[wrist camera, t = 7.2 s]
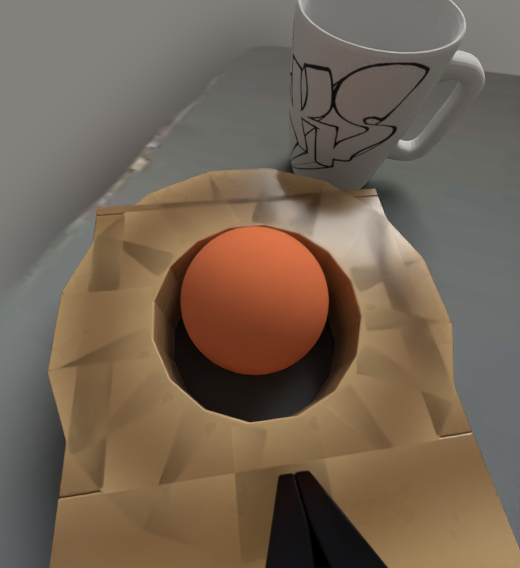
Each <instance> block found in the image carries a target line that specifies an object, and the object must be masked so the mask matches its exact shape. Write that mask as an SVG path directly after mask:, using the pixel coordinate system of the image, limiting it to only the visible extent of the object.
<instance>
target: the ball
mask: <svg viewBox="0 0 520 568" xmlns="http://www.w3.org/2000/svg"><path fill="white" fill-rule="evenodd" d="M180 301H181V313H182V318H183V322H184V325H185V328H186V330H187V332H188V334H189V337H190V338H191V340H192V341H193V343H194V344H195V346H196V347H197V348H198V349H199V351H200V352H201V353H202V354H203V355H205V356H206V357H207V358H208V359H209V360H211V361H212V362H213V363H215V364H216V365H218V366H220V367H222V368H224V369H226V370H229V371H232V372H235V373H240V374H246V375H263V374H269V373H274V372H277V371H280V370H283V369H285V368H287V367H289V366H291V365H293V364H294V363H296V362H297V361H299V360H300V359H301V358H302V357H304V356H305V355H306V354H307V353H308V352H309V351H310V350H311V348H312V347H313V346H314V345H315V343H316V342H317V340H318V339H319V337H320V335H321V333H322V331H323V329H324V325H325V322H326V319H327V314H328V306H329V296H328V288H327V283H326V279H325V276H324V273H323V271H322V269H321V267H320V265H319V263H318V262H317V260H316V259H315V257H314V256H313V255H312V253H311V252H310V251H309V250H308V249H307V248H306V247H305V246H304V245H303V244H302V243H301V242H299V241H298V240H296V239H295V238H293V237H292V236H290V235H288V234H286V233H284V232H281V231H278V230H276V229H271V228H267V227H258V226H257V227H243V228H238V229H234V230H231V231H228V232H226V233H223V234H221V235H219V236H218V237H216V238H214V239H213V240H211V241H210V242H209V243H208V244H206V245H205V246H204V247H203V248H202V249H201V250H200V251H199V252H198V254H197V255H196V256H195V258H194V259H193V260H192V262H191V264H190V266H189V268H188V269H187V272H186V274H185V277H184V280H183V284H182V288H181V297H180Z"/></svg>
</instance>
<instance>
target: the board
mask: <svg viewBox="0 0 520 568" xmlns="http://www.w3.org/2000/svg"><path fill="white" fill-rule="evenodd" d="M377 195H378V194H377V192H376V189H375V188H371V189H357V190H340V189H339V188H337V187H335V186H333V185H332V184H330V183H328V182H326V181H323V180H319V179H314V178H310V177H305V176H301V175H297V174H292V173H288V172H283V171H279V170H275V169H270V168H261V169H244V170H227V171H211V172H207V173H204V174H201V175H199V176H196V177H193V178H190V179H188V180H185V181H182V182H179V183H177V184H174V185H171V186H169V187H166V188H163V189H160V190H158V191H155V192H152V193H150V194H148V195H147V196H146V197H145V198H143V199H142V200H141V201H139V202H138V203H137V204H136V205H125V206H111V207H98V208H97V213H96V216H97V217H96V223H95V230H94V238H93V244H92V245H91V247H90V248H89V250H88V252H87V253H86V255H85V256H84V258H83V260H82V261H81V263H80V264H79V266H78V267H77V269H76V271H75V272H74V274H73V275H72V277H71V279H70V280H69V282H68V283H67V285H66V287H65V288H64V290H63V291H62V295H61V298H60V303H59V309H58V315H57V321H56V326H55V332H54V338H53V344H52V349H51V355H50V361H49V366H48V377H49V381H50V384H51V388H52V392H53V395H54V399H55V403H56V407H57V410H58V414H59V418H60V421H61V425H62V429H63V432H64V436H65V440H66V446H65V454H64V461H63V469H62V476H61V483H60V491H59V497H61V498H60V499H59V500H58V504H57V511H56V519H55V526H54V534H53V541H52V549H51V556H50V563H49V568H265V566H266V559H267V552H268V545H269V538H270V531H271V524H272V517H273V510H274V503H275V496H276V489H277V482H278V476H279V475H280V474H286V473H293V474H294V473H295V472H298V471H304V470H308V471H310V472H311V473H312V474H313V475H314V477H315V478H316V479H317V480H318V482H319V483H320V484H321V485H322V487H323V488H324V489H325V490H326V491H327V493H328V494H329V495H330V496H331V498H332V499H333V500H334V501H335V503H336V504H337V505H338V506H339V507H340V509H341V510H342V511H343V512H344V514H345V515H346V516H347V517H348V519H349V520H350V521H351V522H352V524H353V525H354V526H355V527H356V528H357V530H358V531H359V532H360V533H361V535H362V536H363V537H364V538H365V540H366V541H367V542H368V543H369V545H370V546H371V547H372V548H373V549H374V551H375V552H376V553H377V554H378V556H379V557H380V558H381V559H382V561H383V562H384V563H385V564H386V566H387V567H388V568H520V550H519V547H518V545H517V542H516V540H515V537H514V535H513V532H512V530H511V527H510V525H509V522H508V520H507V517H506V515H505V512H504V510H503V507H502V505H501V502H500V500H499V497H498V495H497V492H496V490H495V487H494V485H493V482H492V480H491V477H490V475H489V472H488V470H487V467H486V465H485V462H484V460H483V457H482V455H481V452H480V450H479V447H478V445H477V442H476V440H475V437H474V435H473V433H470V432H471V431H472V430H471V427H470V425H469V422H468V420H467V417H466V415H465V412H464V410H463V407H462V405H461V402H460V400H459V397H458V395H457V392H456V390H455V387H454V370H453V335H452V324H451V320H450V318H449V316H448V314H447V311H446V309H445V307H444V304H443V302H442V300H441V297H440V295H439V293H438V291H437V288H436V286H435V284H434V281H433V279H432V277H431V274H430V272H429V270H428V268H427V265H426V263H425V261H424V260H423V257H422V256H421V255H420V254H419V253H418V252H417V251H416V250H415V249H414V248H413V247H412V246H411V245H410V244H409V242H408V241H407V240H406V239H405V238H404V237H403V236H402V235H401V234H400V233H399V232H398V231H397V230H396V228H395V227H394V226H393V225H392V224H391V223H390V222H389V221H388V220H387V217H386V215H385V212H384V210H383V207H382V205H381V202H380V200H379V197H378V196H377ZM257 226H258V227H267V228H271V229H276V230H278V231H281V232H284V233H286V234H288V235H290V236H292V237H293V238H295V239H296V240H298V241H299V242H301V243H302V244H303V245H304V246H305V247H306V248H307V249H308V250H309V251H310V252H311V253H312V255H313V256H314V257H315V259H316V260H317V262H318V263H319V265H320V267H321V269H322V271H323V273H324V276H325V279H326V283H327V288H328V296H329V306H328V314H327V315H328V319H329V323H330V327H331V331H332V335H333V339H334V343H335V344H334V350H333V357H332V363H331V370H330V375H329V376H328V378H327V380H326V381H325V383H324V384H323V386H322V387H321V389H320V390H319V392H318V394H317V395H316V397H315V398H314V400H313V401H312V403H310V404H308V405H307V406H305V407H304V408H302V409H301V410H299V411H298V412H296V413H295V414H293V415H292V416H290V417H284V418H278V419H271V420H264V421H257V422H247V421H243V420H240V419H237V418H233V417H230V416H226V415H223V414H220V413H216V412H213V411H209V410H208V409H206V408H205V407H204V406H203V405H202V404H201V403H200V402H198V401H197V400H196V399H195V398H194V397H193V396H192V395H190V394H189V392H188V390H187V388H186V386H185V383H184V381H183V379H182V377H181V374H180V372H179V370H178V368H177V366H176V363H175V331H176V328H177V326H178V323H179V321H180V318H181V316H182V313H181V301H180V297H181V288H182V284H183V280H184V277H185V274H186V272H187V269H188V268H189V266H190V264H191V262H192V260H193V259H194V258H195V256H196V255H197V254H198V252H199V251H200V250H201V249H202V248H203V247H204V246H205V245H206V244H208V243H209V242H210V241H211V240H213V239H214V238H216V237H218V236H219V235H221V234H223V233H226V232H228V231H231V230H234V229H238V228H243V227H257Z"/></svg>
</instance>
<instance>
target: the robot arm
mask: <svg viewBox="0 0 520 568" xmlns="http://www.w3.org/2000/svg"><path fill="white" fill-rule="evenodd" d="M265 568H388V567H387V566H386V564H385V563H384V562H383V561H382V559H381V558H380V557H379V556H378V554H377V553H376V552H375V551H374V549H373V548H372V547H371V546H370V545H369V543H368V542H367V541H366V540H365V538H364V537H363V536H362V535H361V533H360V532H359V531H358V530H357V528H356V527H355V526H354V525H353V524H352V522H351V521H350V520H349V519H348V517H347V516H346V515H345V514H344V512H343V511H342V510H341V509H340V507H339V506H338V505H337V504H336V503H335V501H334V500H333V499H332V498H331V496H330V495H329V494H328V493H327V491H326V490H325V489H324V488H323V487H322V485H321V484H320V483H319V482H318V480H317V479H316V478H315V477H314V475H313V474H312V473H311V472H310V471H308V470H304V471H298V472H295V473H294V474H293V473H286V474H280V475H279V476H278V482H277V489H276V496H275V503H274V510H273V517H272V524H271V531H270V538H269V545H268V552H267V559H266V566H265Z"/></svg>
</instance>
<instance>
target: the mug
mask: <svg viewBox="0 0 520 568" xmlns="http://www.w3.org/2000/svg"><path fill="white" fill-rule="evenodd" d="M465 29H466V21H465V17H464V15H463V13H462V12H461V10H460V9H459V8H458V7H457V5H456V4H455V3H454V2H452V1H451V0H297V3H296V7H295V16H294V26H293V41H292V57H291V72H290V87H289V130H290V156H291V165H292V169H293V172H294V174H297V175H301V176H305V177H310V178H314V179H319V180H323V181H326V182H328V183H330V184H332V185H333V186H335V187H337V188H339V189H340V190H357V189H360V188H362V187H363V186H364V185H365V184H366V183H367V182H368V181H369V180H370V178H371V177H372V176H373V175H374V173H375V172H376V171H377V169H378V168H379V167H380V165H381V164H382V163H383V162H384V160H385V159H386V158H388V159H393V160H399V161H410V160H415V159H418V158H420V157H422V156H424V155H425V154H427V153H428V152H429V151H430V150H431V149H432V148H433V147H434V146H435V145H436V144H437V143H438V142H439V141H440V139H441V138H442V137H443V136H444V135H445V134H446V133H447V131H448V130H449V129H450V128H451V127H452V126H453V125H454V124H455V123H456V122H457V121H458V120H459V119H460V118H461V117H462V116H463V115H464V114H465V113H466V111H467V110H468V109H469V108H470V107H471V106H472V104H473V103H474V102H475V100H476V98H477V97H478V95H479V94H480V92H481V91H482V89H483V86H484V82H485V75H484V71H483V69H482V66H481V64H480V63H479V61H478V60H477V59H476V57H475V56H473V55H471V54H469V53H466V52H463V51H457V49H458V47H459V45H460V43H461V41H462V39H463V37H464V34H465ZM446 80H454V81H458V83H457V85H456V87H455V89H454V90H453V92H452V94H451V95H450V96H449V98H448V99H447V101H446V102H445V103H444V105H443V106H442V107H441V108H440V110H439V111H438V112H437V113H436V115H435V116H434V117H433V118H432V120H431V121H430V122H429V124H428V125H427V126H426V128H425V129H424V130H423V131H422V133H421V134H420V135H419V136H418V137H417V138H415V139H414V140H411V141H403V140H400V139H401V138H402V137H403V135H404V134H405V132H406V131H407V129H408V128H409V126H410V125H411V123H412V122H413V120H414V119H415V117H416V116H417V114H418V113H419V111H420V109H421V108H422V106H423V104H424V103H425V101H426V100H427V98H428V96H429V95H430V93H431V92H432V90H433V88H434V87H435V85H436V84H437V83H439V82H442V81H446Z"/></svg>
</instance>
